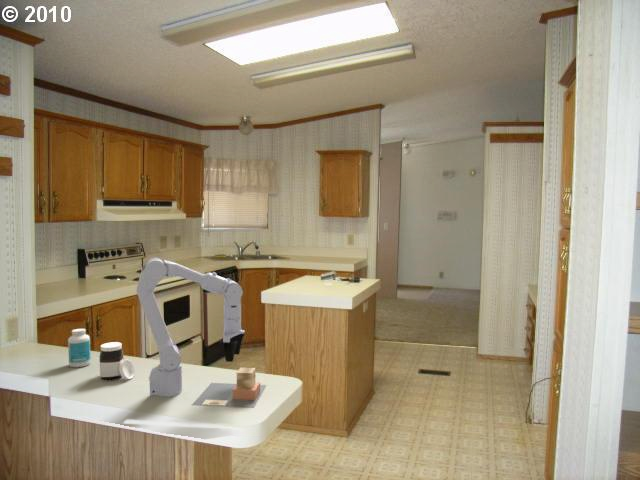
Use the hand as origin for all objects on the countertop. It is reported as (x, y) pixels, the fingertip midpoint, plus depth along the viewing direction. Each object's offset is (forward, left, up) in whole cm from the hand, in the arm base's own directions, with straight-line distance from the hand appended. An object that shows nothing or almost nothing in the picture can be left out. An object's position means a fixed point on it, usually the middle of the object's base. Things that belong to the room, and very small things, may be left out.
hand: (232, 357), depth 161 cm
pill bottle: (-64, +15, -10) cm, 67 cm away
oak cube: (+7, -9, -6) cm, 13 cm away
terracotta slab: (+7, -9, -9) cm, 14 cm away
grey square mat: (+2, -9, -10) cm, 14 cm away
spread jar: (-43, +4, -10) cm, 44 cm away
